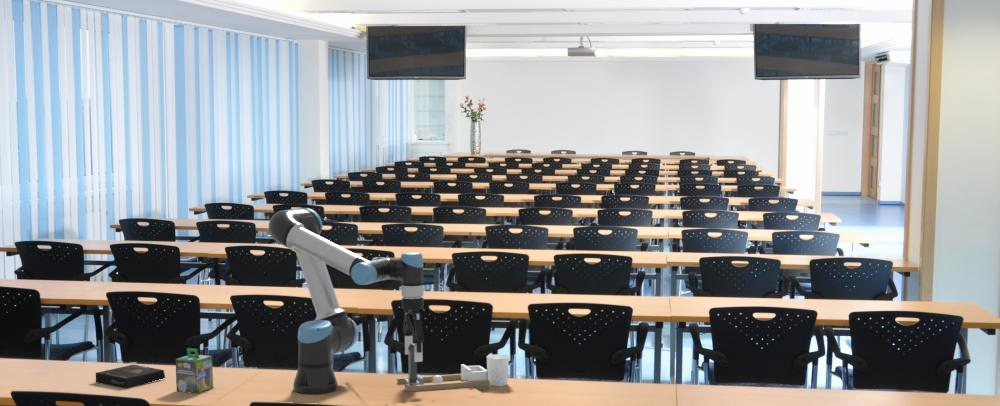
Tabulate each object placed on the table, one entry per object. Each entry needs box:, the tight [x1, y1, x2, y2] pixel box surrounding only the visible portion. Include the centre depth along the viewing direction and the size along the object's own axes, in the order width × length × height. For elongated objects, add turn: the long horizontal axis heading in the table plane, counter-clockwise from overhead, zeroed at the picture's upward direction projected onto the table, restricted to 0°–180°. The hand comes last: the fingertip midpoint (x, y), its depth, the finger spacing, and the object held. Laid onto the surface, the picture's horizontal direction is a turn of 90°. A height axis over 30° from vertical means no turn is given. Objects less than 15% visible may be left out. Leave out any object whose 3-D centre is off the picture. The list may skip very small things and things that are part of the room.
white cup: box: [486, 353, 510, 387], centre depth 395 cm, size 8×8×10 cm
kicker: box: [404, 343, 425, 386], centre depth 385 cm, size 5×7×15 cm
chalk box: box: [175, 347, 214, 394], centre depth 385 cm, size 9×9×15 cm
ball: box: [432, 374, 444, 384], centre depth 389 cm, size 4×4×4 cm
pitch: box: [396, 373, 491, 393], centre depth 389 cm, size 30×13×3 cm, turn 109°
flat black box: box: [95, 364, 166, 389], centre depth 398 cm, size 16×17×4 cm
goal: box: [460, 363, 488, 382], centre depth 393 cm, size 7×10×6 cm
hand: (413, 357), depth 385 cm, fingers open, 13 cm apart
